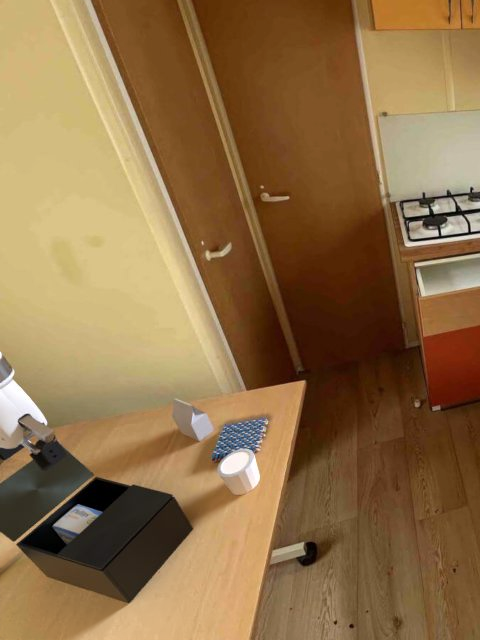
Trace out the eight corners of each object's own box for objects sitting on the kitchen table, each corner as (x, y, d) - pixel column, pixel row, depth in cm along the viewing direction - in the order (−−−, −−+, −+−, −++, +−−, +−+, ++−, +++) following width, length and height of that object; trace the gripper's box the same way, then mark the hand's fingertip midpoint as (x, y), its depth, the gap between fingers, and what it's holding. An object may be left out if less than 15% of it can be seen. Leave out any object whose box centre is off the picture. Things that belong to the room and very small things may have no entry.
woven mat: (270, 419, 108) (268, 414, 107) (260, 455, 99) (257, 449, 98) (225, 428, 106) (222, 422, 105) (210, 465, 96) (207, 459, 95)
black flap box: (46, 576, 77) (13, 541, 71) (118, 508, 88) (94, 473, 82) (129, 603, 73) (100, 568, 68) (193, 528, 84) (172, 494, 79)
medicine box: (72, 553, 80) (49, 526, 76) (98, 529, 83) (77, 502, 79) (105, 564, 78) (83, 537, 74) (129, 539, 82) (109, 512, 78)
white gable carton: (199, 441, 102) (185, 412, 97) (180, 433, 104) (165, 404, 100) (214, 429, 105) (200, 400, 100) (195, 421, 107) (181, 393, 103)
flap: (14, 541, 71) (13, 541, 72) (94, 474, 82) (93, 474, 82) (-32, 506, 68) (-33, 507, 68) (58, 441, 79) (57, 441, 79)
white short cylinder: (269, 477, 94) (260, 457, 91) (238, 503, 89) (228, 482, 85) (251, 463, 97) (242, 443, 94) (220, 488, 92) (210, 467, 88)
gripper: (-109, 386, 59) (-35, 467, 68) (-18, 408, 56) (48, 490, 64) (-37, 352, 66) (23, 429, 74) (48, 369, 63) (100, 448, 71)
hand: (34, 457), depth 69 cm, fingers open, 8 cm apart
